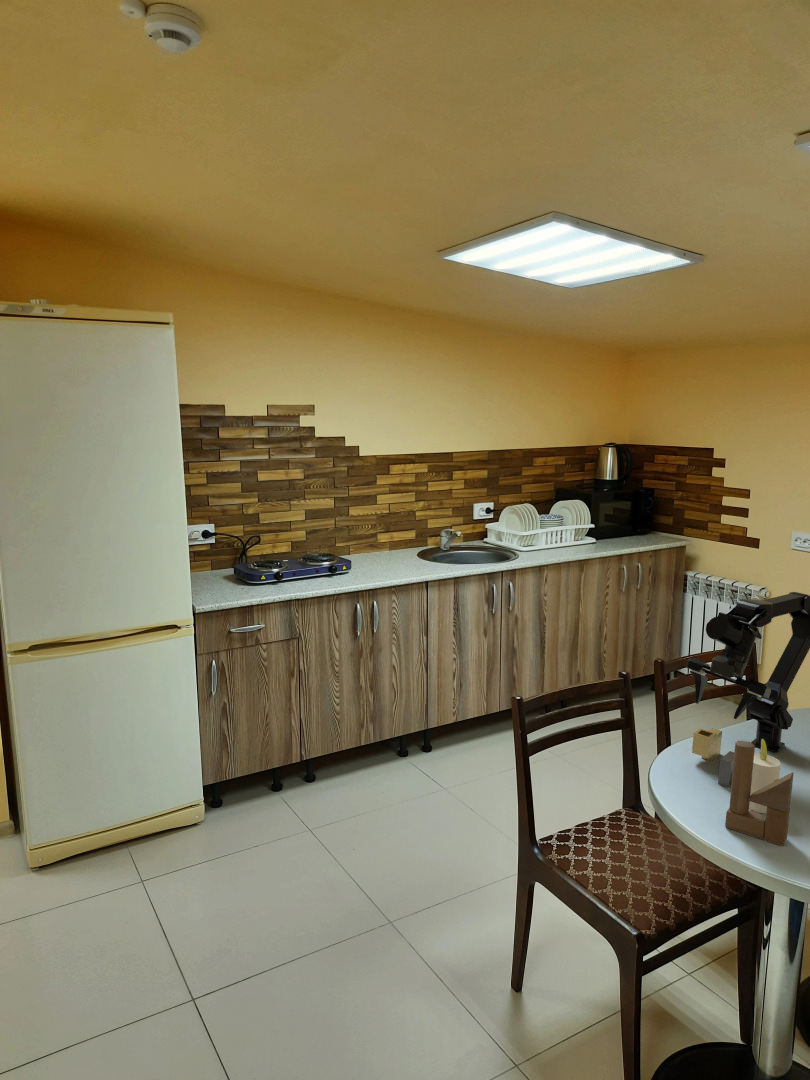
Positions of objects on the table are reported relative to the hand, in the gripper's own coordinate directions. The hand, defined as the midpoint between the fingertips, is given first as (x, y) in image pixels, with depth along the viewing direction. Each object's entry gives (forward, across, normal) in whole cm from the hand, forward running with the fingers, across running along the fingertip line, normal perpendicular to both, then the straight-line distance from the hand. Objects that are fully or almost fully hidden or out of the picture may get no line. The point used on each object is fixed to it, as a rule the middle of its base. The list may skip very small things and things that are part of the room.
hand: (715, 711), depth 173 cm
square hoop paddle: (+12, 0, +6) cm, 13 cm away
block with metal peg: (+13, +8, 0) cm, 15 cm away
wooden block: (+20, +20, -20) cm, 34 cm away
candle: (+15, +17, -8) cm, 25 cm away
